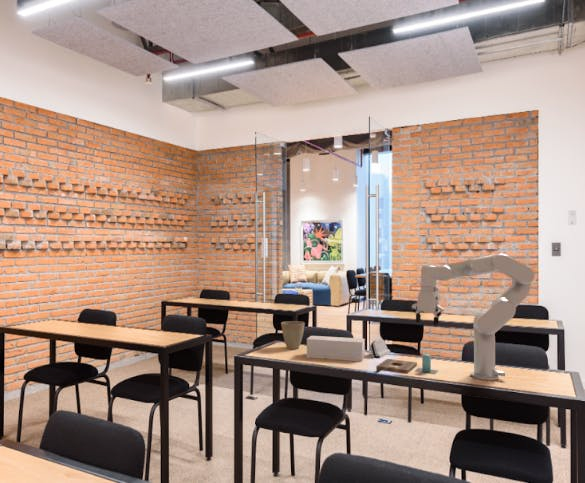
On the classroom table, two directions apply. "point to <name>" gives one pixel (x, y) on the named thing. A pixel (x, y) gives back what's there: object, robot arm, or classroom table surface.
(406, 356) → the classroom table surface
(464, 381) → the classroom table surface
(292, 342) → the plant pot
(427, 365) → the peg
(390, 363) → the hole board
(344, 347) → the long grey foam brick
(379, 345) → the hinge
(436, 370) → the plate
